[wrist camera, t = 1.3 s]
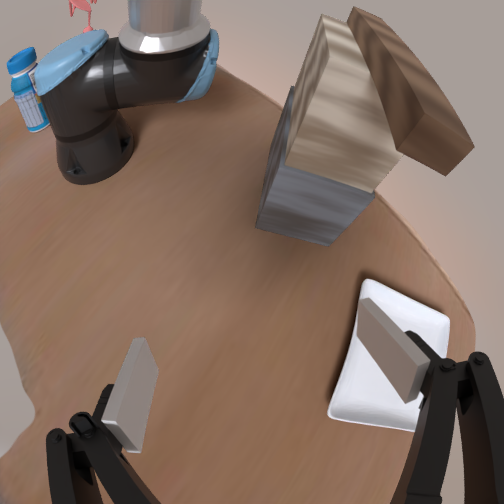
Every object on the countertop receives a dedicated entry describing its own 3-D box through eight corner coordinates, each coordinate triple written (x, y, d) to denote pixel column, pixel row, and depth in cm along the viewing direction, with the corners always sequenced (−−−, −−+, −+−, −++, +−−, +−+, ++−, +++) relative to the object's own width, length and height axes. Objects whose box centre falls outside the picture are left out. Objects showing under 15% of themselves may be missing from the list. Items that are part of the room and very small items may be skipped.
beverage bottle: (29, 139, 41) (0, 71, 23) (27, 122, 43) (4, 59, 25) (59, 121, 44) (38, 49, 26) (56, 105, 46) (37, 40, 28)
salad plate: (440, 320, 41) (452, 316, 38) (416, 431, 32) (430, 433, 29) (353, 281, 41) (364, 274, 38) (315, 414, 32) (325, 418, 29)
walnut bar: (445, 176, 13) (474, 146, 10) (396, 150, 13) (425, 113, 10) (373, 34, 25) (380, 18, 22) (346, 22, 25) (353, 6, 22)
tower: (328, 246, 43) (444, 116, 17) (255, 228, 41) (324, 56, 16) (329, 161, 51) (397, 45, 25) (271, 144, 50) (317, 11, 24)
